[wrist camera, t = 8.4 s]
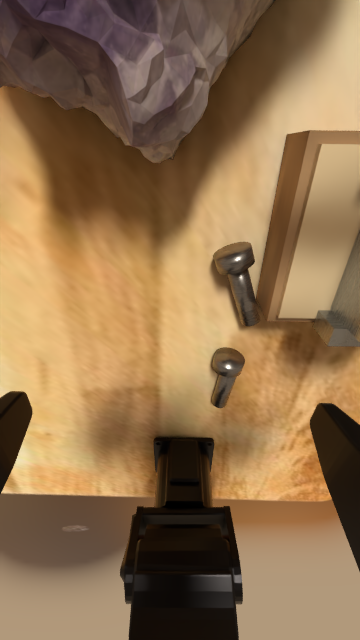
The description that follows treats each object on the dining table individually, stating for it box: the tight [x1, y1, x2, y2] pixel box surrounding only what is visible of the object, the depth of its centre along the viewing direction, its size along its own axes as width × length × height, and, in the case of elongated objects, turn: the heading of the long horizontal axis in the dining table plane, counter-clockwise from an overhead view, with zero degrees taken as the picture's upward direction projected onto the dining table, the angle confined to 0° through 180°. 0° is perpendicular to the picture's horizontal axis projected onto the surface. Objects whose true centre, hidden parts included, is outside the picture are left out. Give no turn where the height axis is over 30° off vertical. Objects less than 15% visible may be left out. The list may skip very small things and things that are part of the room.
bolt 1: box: [213, 242, 260, 326], centre depth 18 cm, size 6×2×2 cm, turn 20°
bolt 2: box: [212, 348, 245, 408], centre depth 23 cm, size 6×2×2 cm
